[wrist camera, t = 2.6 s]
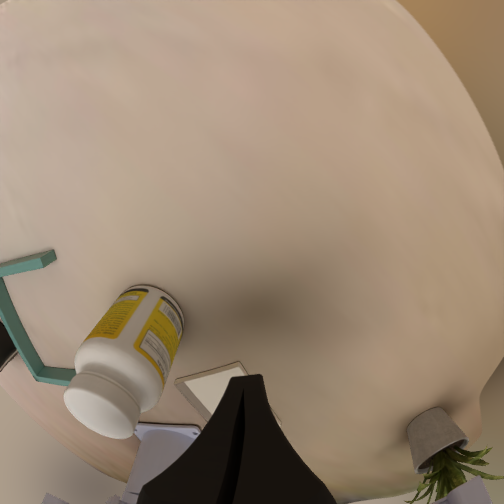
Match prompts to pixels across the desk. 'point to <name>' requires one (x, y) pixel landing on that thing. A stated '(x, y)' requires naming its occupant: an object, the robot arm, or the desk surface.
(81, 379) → the supplement bottle
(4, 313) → the bracket
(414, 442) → the house plant
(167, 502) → the robot arm
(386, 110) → the desk surface
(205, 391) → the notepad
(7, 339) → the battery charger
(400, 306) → the desk surface
